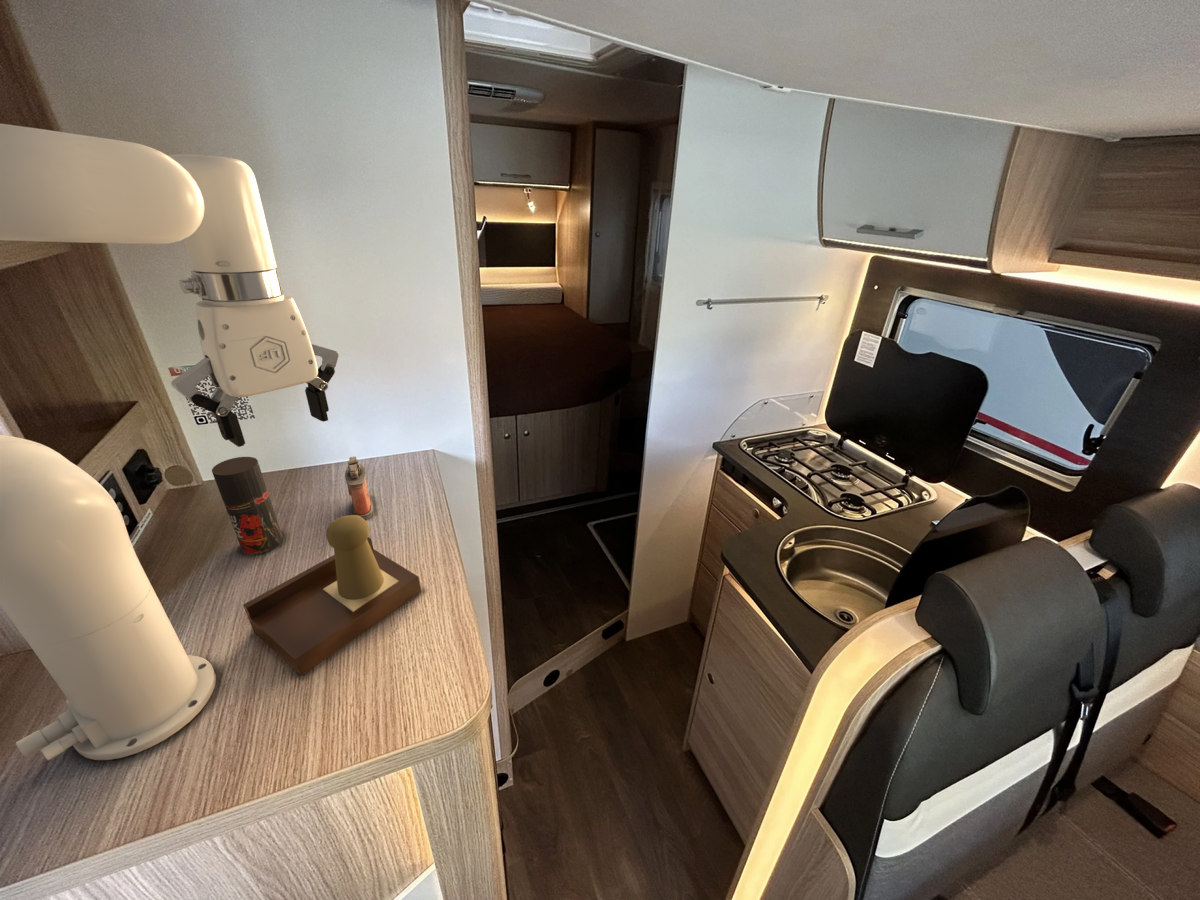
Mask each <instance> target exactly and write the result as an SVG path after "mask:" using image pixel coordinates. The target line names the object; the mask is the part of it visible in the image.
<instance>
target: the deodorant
mask: <svg viewBox="0 0 1200 900" xmlns="http://www.w3.org/2000/svg"><path fill="white" fill-rule="evenodd" d="M211 473H212V475H213V478H214V481H215V484H216V486H217V489H218V491H219V494H220V497H221V499H222V502H223V504H224V507H225V510H226V512H227V515H228V517H229V520H230V523H231V525H232V528H233V530H234V534H235V536H236V538H237V539H236V540H237V541H238V543H239V546H240V549H241V552H242V553H243V554H247V555H261V554H264V553H267V552H270V551H272V550H274V549H275V548H277V547H278V546H280V545H281V544H282V542H283V540H284V537H283V533H282V530H281V527H280V524H279V522H278V521H279V520H278V518H277V515H276V512H275V509H274V505H273V503H272V500H271V497H270V494H269V490H268V488H267V485H266V481H265V479H264V476H263V473H262V470H261V467H260V464H259V460H258V459H257V458H256V457H253V456H238V457H237V456H236V457H233V458H229V459H226V460H223V461H221V462H219V463H217V464H216V465H214V466H213V467H212V469H211Z"/></svg>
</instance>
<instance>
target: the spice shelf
mask: <svg viewBox="0 0 1200 900" xmlns="http://www.w3.org/2000/svg"><path fill="white" fill-rule="evenodd" d="M367 540H368V542H369V545H370V547H371V550H372V552H373V554H374V557H375V559H376V561H377V564H378V566H379V568H380V571H381V573H382V576H383V578H384V581H383V584H382V586H381V588H380V589H379V590H378V591H376V592H375V593H374V594H372V595H370V596H368V597H365V598H362V599H357V600H348V599H345V598H342V597H341V596H340V595H339V593H338V586H337V575H336V564H335V554H333V555H331V556H329V557H327V558H326V559H324V560H322V561H320V562H318V563H316V564H314V565H313V566H311V567H309V568H307V569H305V570H303V571H302V572H300V573H298V574H296V575H294V576H293V577H291V578H289V579H287V580H285V581H284V582H282V583H280V584H278V585H276V586H274V587H272V588H271V589H268V590H267V591H266V592H264V593H262V594H260V595H258V596H256V597H254V598H253V599H251V600H249V601H247V602H245V603H244V604H243V605H242V606H243V609H244V610H245V613H246V616H247V619H248V621H249V623H250V626H251V628H252V630H253V633H254V634H255V635H256V636H257V637H258V638H260V639H261V640H262V641H263V642H264V643H265V644H266V645H268V647H270V648H271V650H273V651H274V652H275V653H276V654H277V655H278V656H279V657H280V658H281V659H283V661H285V662H286V663H287V664H288V665H289V666H290V667H291V668H292V669H293V670H294V671H295V672H296V673H297V674H299V676H301V677H303V675H305V674H306V673H308V672H310V671H311V670H312V669H314V668H315V667H316V666H318V665H319V664H320V663H322V662H323V661H325V660H327V659H328V658H329V657H331V656H332V655H334V654H335V653H336V652H338V651H339V650H340V649H342V648H343V647H345V646H346V645H348V644H349V643H351V642H352V641H353V640H355V639H356V638H358V637H360V635H362V634H363V633H365V632H366V631H368V630H369V629H371V628H372V627H374V626H375V625H376V624H378V623H379V622H381V621H382V620H383V619H385V618H386V617H388V616H389V615H391V614H392V613H393V612H394V611H396V610H397V609H399V608H400V607H402V606H404V604H406V603H408V602H409V601H410V600H412V599H413V598H415V597H416V596H418V595H419V594H420V593H422V588H421V582H420V578H419V576H418V575H417V574H415V573H413V572H412V571H410V570H409V569H407V568H405V567H404V566H402V565H400V564H399V563H397V562H396V561H394V560H393V559H391V558H389V557H387V556H386V555H384V554H382V553H381V552H380V551H378V550H376V549H374V546H373V541H372V538H371V537H369V536H368V538H367Z"/></svg>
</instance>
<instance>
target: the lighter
mask: <svg viewBox="0 0 1200 900" xmlns="http://www.w3.org/2000/svg"><path fill="white" fill-rule="evenodd" d="M366 473H367V472H366V469H365V467H364V465H363V464H362V463H360V462H359V460H358V458H357V456H350V457H349V458H348V460H347V466H346V469H345V473H344V478H345V483H346V486H347V490H348V494H349V496H350V499H351V502H352V504H351V506H352V511H353V515H357V516H360V517H362V518H363V519H364V520H367V519H369V518H371V517H372V515H373V511H374V505H373V500H372V498H371V495H370V493H369V487H368V484H367V474H366Z"/></svg>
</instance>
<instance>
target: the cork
mask: <svg viewBox="0 0 1200 900" xmlns="http://www.w3.org/2000/svg"><path fill="white" fill-rule="evenodd" d="M369 535H370V526H369V524H368V522H367V519H363V518H362V517H360V516H357V515H354V514H350V515H344V516H340V517H337V518H336V519H334V520H332V521H331V522H330V524H328V526H327V528H326V531H325V537H326V540H327V543H328V544H329V546H330V547H331V548H333V551H334V555H335V564H336V575H337V586H338V593H339V595H340V596H341V597H342V598H345V599H348V600H357V599H362V598H365V597H368V596H370V595H372V594H374V593H375V592H376V591H378V590H379V589H380V588H381V586H382V584H383V581H384V578H383V576H382V573H381V571H380V568H379V566H378V564H377V561H376V559H375V557H374V554H373V552H372V550H371V547H370V545H369V542H368V540H367V538H368V537H369Z"/></svg>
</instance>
